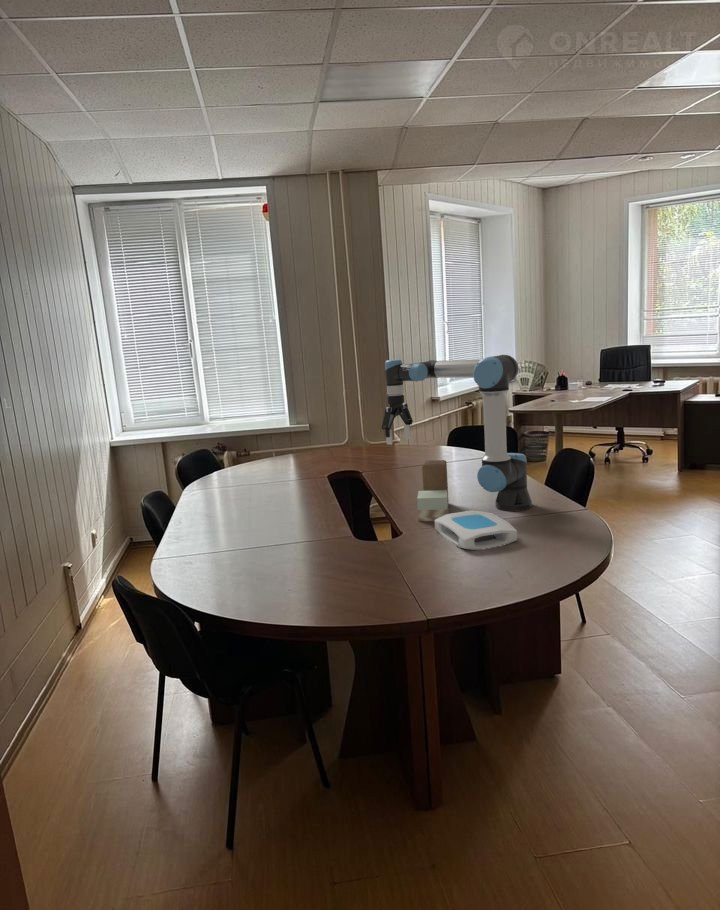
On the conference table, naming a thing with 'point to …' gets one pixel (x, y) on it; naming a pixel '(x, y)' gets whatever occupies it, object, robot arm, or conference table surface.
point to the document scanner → (475, 529)
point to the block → (434, 475)
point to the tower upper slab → (432, 500)
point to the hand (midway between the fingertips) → (398, 441)
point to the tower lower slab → (431, 514)
